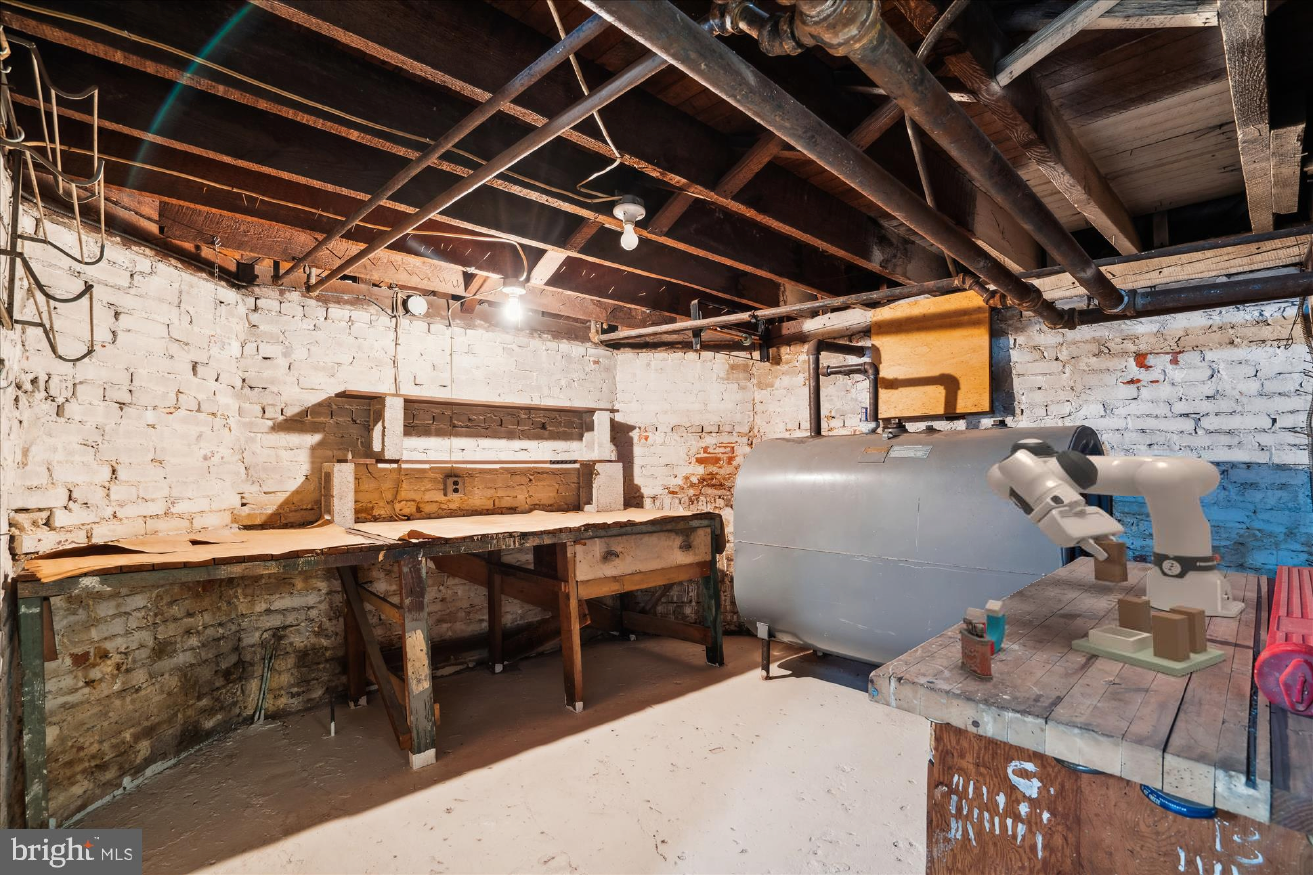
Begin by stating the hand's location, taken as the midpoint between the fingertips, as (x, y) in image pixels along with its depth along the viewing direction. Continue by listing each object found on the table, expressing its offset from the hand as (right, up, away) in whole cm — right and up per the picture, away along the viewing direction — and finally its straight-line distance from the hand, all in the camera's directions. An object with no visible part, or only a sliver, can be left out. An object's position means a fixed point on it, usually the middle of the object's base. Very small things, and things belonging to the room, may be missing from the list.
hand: (1113, 557), depth 118 cm
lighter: (-34, -20, -10) cm, 41 cm away
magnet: (-26, -20, +1) cm, 33 cm away
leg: (0, -5, 0) cm, 5 cm away
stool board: (+5, -19, -2) cm, 20 cm away
